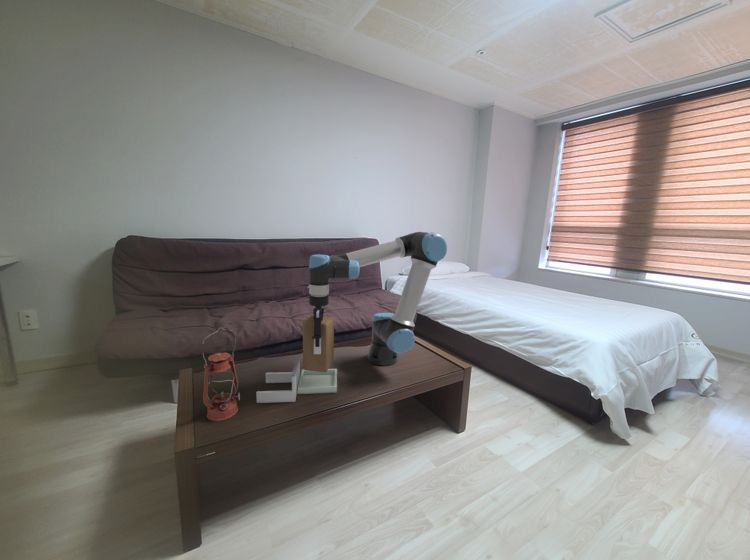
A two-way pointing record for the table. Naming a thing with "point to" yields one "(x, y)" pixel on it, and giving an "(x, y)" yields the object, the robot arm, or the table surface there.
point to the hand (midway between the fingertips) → (318, 347)
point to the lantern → (222, 402)
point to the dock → (281, 378)
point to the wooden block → (327, 345)
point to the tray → (317, 382)
